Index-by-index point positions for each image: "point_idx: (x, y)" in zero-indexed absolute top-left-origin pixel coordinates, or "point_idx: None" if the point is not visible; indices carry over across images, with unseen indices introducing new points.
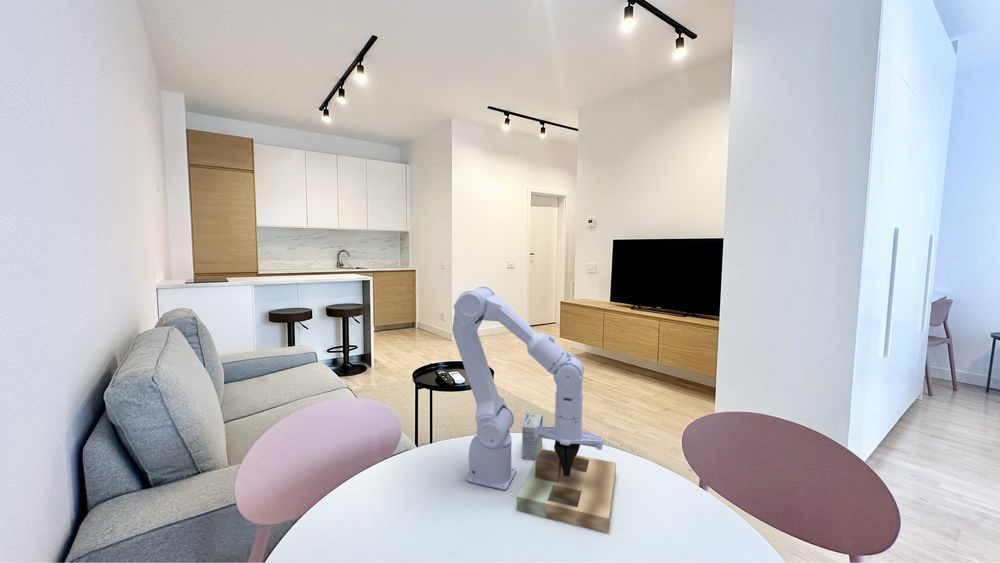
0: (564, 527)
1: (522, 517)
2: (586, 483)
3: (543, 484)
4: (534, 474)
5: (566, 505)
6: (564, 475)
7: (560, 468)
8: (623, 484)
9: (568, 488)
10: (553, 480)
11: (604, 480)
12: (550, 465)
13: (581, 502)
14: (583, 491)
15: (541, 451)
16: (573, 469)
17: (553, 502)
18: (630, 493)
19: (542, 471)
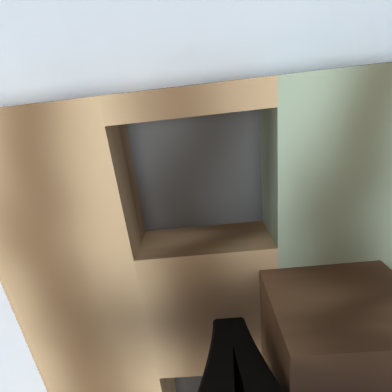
0: (163, 60)
1: (362, 31)
2: (132, 316)
3: (326, 229)
4: None
5: (163, 113)
6: (237, 318)
7: (270, 353)
8: None
9: (198, 254)
10: (283, 272)
11: (72, 360)
12: (342, 338)
13: (102, 177)
14: (124, 259)
15: None
16: None
17: (238, 105)
18: (21, 346)
19: (367, 293)
